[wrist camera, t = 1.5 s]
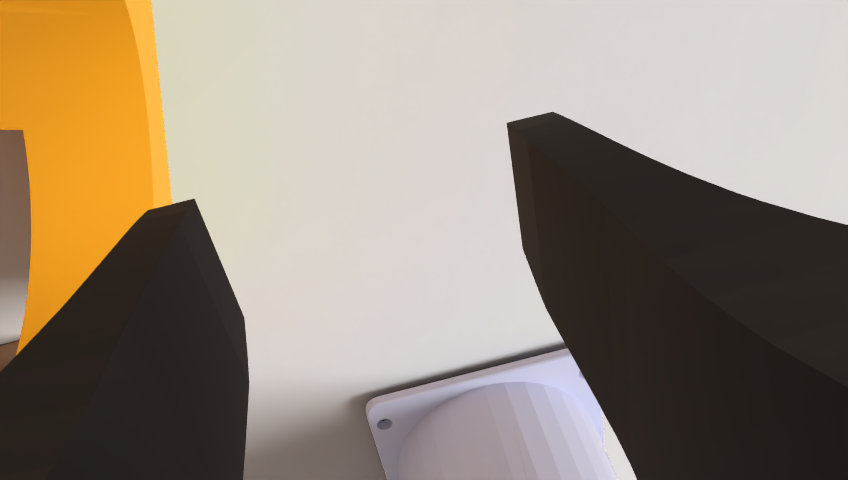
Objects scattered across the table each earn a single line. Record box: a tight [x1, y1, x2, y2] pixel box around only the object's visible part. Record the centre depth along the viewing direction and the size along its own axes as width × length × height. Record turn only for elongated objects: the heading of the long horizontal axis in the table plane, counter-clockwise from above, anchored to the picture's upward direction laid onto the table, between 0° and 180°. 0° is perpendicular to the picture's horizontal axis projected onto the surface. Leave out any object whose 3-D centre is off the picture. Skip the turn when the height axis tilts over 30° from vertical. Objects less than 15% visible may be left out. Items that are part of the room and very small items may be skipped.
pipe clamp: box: [0, 0, 172, 355], centre depth 16 cm, size 12×4×6 cm, turn 175°
